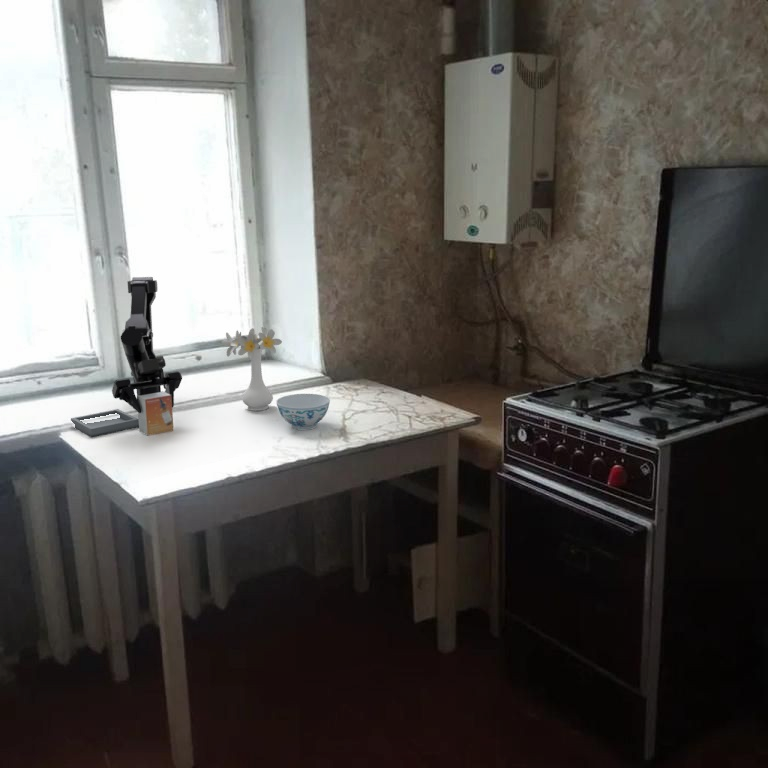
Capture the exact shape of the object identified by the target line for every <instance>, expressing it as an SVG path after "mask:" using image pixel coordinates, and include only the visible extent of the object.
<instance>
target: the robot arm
mask: <svg viewBox="0 0 768 768" xmlns="http://www.w3.org/2000/svg"><path fill="white" fill-rule="evenodd" d="M157 292H158V281H157V280H156V279H154V278H153V276H141V277H140V276H139V277H137V276H136V277H135V276H134V277H132V279H131V280H127V293H128V294H130V296H131V300H130V301H131V303H130V315H129V316H130V317H129V318H128V319H127V320H126V321H125V325H124V329H123V330H122V332H121V334H120V342H121V345H122V348H123V350H124V355H125V357H126V360H127V363H128V365H129V368H130V371H131V372H130V375H131V377H132V379H133V382H132V381H131V380H130V378H120V379H116V380H115V381H114V382H113V386H112V389H111V392H112V397H113V398H114V399H118V400H119V401H124V402H126V403H127V404H128V405H130V407H132V408H133V409H134V410H135V411H136V412H137V413H138V412H139V413H141V408H140V405H139V403H138V400H137V396H139V395H147V394H152V393H158V392H162V389H161V388H162V387H161V386H163V388H164V389H165V390H164V392H166V393H168V394H170V395H171V397H172V409H173V408H174V406H175V403H174V401H175V395H174V394H175V391H176V390H177V389H179V388H180V385H181V382H182V380H183V376H182V374H181V372H180V371H178V370H175V371H168V372H164V368H165V367H166V366H167V365H166V364H167V363H166V360H165V358H164V356H163V355H158V356H157V355H156V353H155V352H154V341H153V340H154V339H153V337H154V332H153V323H152V322H153V321H152V320H153V318H152V317H153V316H152V305H153V303H154V301H155V299H156V298H157V297H156V296H157ZM164 373H165V374H164ZM135 390H136V394H135Z"/></svg>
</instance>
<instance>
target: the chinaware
mask: <svg viewBox="0 0 768 768" xmlns="http://www.w3.org/2000/svg"><path fill="white" fill-rule="evenodd" d="M330 401H331V400H330V398H329V397H328V396H326V395H323V394H318V393H296V394H288V395H285V396H282V397H279V398H278V399H277V400H276V406H277V410H278V413H279V414H280V415H281V417H282V419H283V420H285V422H286V423H288V424H290V425H291V427H292V429H294V430H297V429H298V430H299V431H306V430H307V431H309V430H313V429H315V428H316V427H317V426H316V425H317V424H318V423H319V422H320V421H322V420H323V418H324V417H325V416H326V414H327V412H328V410H329V406H330ZM312 428H313V429H312ZM308 429H309V430H308Z"/></svg>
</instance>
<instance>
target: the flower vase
mask: <svg viewBox="0 0 768 768" xmlns="http://www.w3.org/2000/svg"><path fill="white" fill-rule="evenodd" d="M260 329H261V332H258V333H256V332H255V329H254V328H251V329H249V332H248V334H245V335H242V331H239V330H238V329H237V330H236V331H235V338H232V336H231V335H230V334H229V332H225V338H226V339H227V340H226V339H223V340H222V341H221V344H222V346H224V347H226V348H227V349H226V356H227V357H230V356H231V355H232V353H233V355H234V356H236V355H237V354H238V356H243V355H245V354H247V356H248V358H249V360H250V367H251V368H250V372H251V373H250V374H251V377H250V383H249V385H248V387H247V389H246V390H245V391H244V392H243V393H242V397H241V398H242V403H243V404H245V405H246V406H247V410H249V411H253V412H261V411H267V409H268V408H269V405H270V404H271V403H272V402H273V399H274V396H273V393H272V392H271V390H270V388H268V387H267V386H266V384H265V382H264V380H263V373H262V353H263V350H266V349H268V350H269V352H271V354H276V353H277V349H276V347H275V346H279V345H281V344H282V342H283V341H282V339H280V338H274V337H275V333H276V332H275V331H274V330H273V329H272V328H271V329H269V330H268V332H267V330H266V328H264V326H261V327H260ZM260 342H261V343H260ZM259 343H260V344H259ZM238 348H240V349H238ZM237 349H238V352H237Z"/></svg>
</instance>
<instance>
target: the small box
mask: <svg viewBox="0 0 768 768" xmlns="http://www.w3.org/2000/svg"><path fill="white" fill-rule="evenodd" d="M136 398H137V400H138V403H139V405H140V408H141V413H139V412H137V418H138V419H139V428H138V430H139V432H140V433H141V434H144V435H146V436H153V435H157V434H163V433H168V432H174V416H173V415H174V414H173V408H172V397H171V395H170V394H168V393H166V392H165V391H163V390H161V392H158V393H152V394H147V395H139V396H137V395H136Z"/></svg>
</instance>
